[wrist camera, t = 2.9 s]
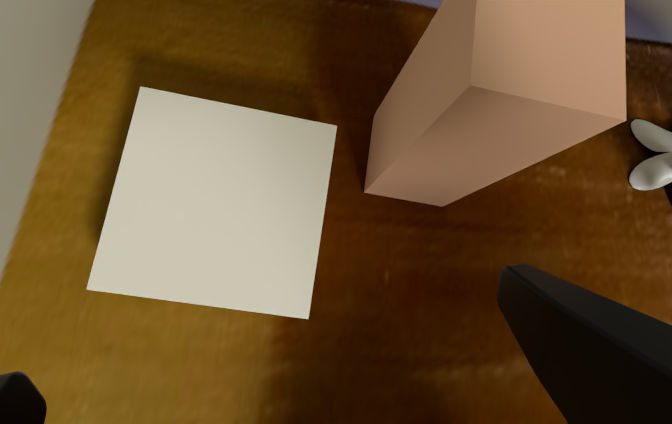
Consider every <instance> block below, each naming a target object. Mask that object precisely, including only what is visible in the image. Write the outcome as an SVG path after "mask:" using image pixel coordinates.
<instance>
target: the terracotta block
mask: <svg viewBox="0 0 672 424" xmlns="http://www.w3.org/2000/svg"><path fill="white" fill-rule="evenodd" d="M624 121H626V58H625V0H444V1H443V3H442V4H441V6H440V8H439V9H438V11H437V13H436V14H435V16H434V18H433V19H432V21H431V22H430V24H429V26H428V27H427V29H426V31H425V32H424V34H423V36H422V37H421V39H420V41H419V42H418V44H417V45H416V47H415V49H414V50H413V52H412V54H411V55H410V57H409V59H408V60H407V62H406V64H405V65H404V67H403V69H402V70H401V72H400V73H399V75H398V77H397V78H396V80H395V82H394V83H393V85H392V87H391V88H390V90H389V92H388V93H387V95H386V97H385V98H384V100H383V101H382V103H381V105H380V106H379V108H378V110H377V111H376V113H375V115H374V118H373V126H372V133H371V141H370V149H369V157H368V164H367V172H366V180H365V188H364V193H369V194H375V195H380V196H386V197H391V198H397V199H402V200H408V201H414V202H419V203H425V204H430V205H436V206H441V207H443V206H445V205H447V204H449V203H451V202H454V201H456V200H458V199H460V198H462V197H464V196H466V195H469V194H471V193H473V192H475V191H477V190H479V189H481V188H483V187H486V186H488V185H490V184H492V183H494V182H496V181H498V180H501V179H503V178H505V177H507V176H509V175H511V174H513V173H515V172H518V171H520V170H522V169H524V168H526V167H528V166H530V165H533V164H535V163H537V162H539V161H541V160H543V159H545V158H547V157H550V156H552V155H554V154H556V153H558V152H560V151H562V150H565V149H567V148H569V147H571V146H573V145H575V144H577V143H579V142H582V141H584V140H586V139H588V138H590V137H592V136H594V135H597V134H599V133H601V132H603V131H605V130H607V129H609V128H611V127H614V126H616V125H618V124H620V123H622V122H624Z"/></svg>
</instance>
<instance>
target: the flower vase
mask: <svg viewBox="0 0 672 424" xmlns="http://www.w3.org/2000/svg"><path fill="white" fill-rule="evenodd" d="M631 129H632V131H633V134H634V135H635V137H636V138H637V139H638V140H639V141H640V142H641V143H642V144H643V145H644V146H646V147H647V148H649V149H651V150H653V151H656V152H668V153H664V154H661V155H657V156H654V157H652V158H649V159H647V160H645V161H643V162H642V163H640V164H639V165H638V166H636V167H635V168H634V170H633V171H632V172H631V174H630V177H629V182H630V184H631V186H632V187H633V188H635V189H637V190H652V189H656V188H659V187H661V186H664V185H666V184H668V183H671V182H672V132H669V131H667V130H665V129H662V128H660V127H658V126H656V125H654V124H652V123H650V122H648V121H645V120H641V119H636V120H634V121H633V122H632V123H631Z"/></svg>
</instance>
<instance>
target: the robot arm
mask: <svg viewBox="0 0 672 424" xmlns="http://www.w3.org/2000/svg"><path fill="white" fill-rule="evenodd" d="M497 302H498V305H499V308H500V310H501V312H502V314H503V315H504V317H505V319H506V321H507V323H508V325H509V327H510V328H511V330H512V332H513V334H514V336H515V338H516V340H517V341H518V343H519V345H520V347H521V349H522V351H523V352H524V354H525V356H526V358H527V360H528V362H529V364H530V365H531V367H532V369H533V370H534V372H535V374H536V376H537V377H538V379H539V380H540V382H541V383H542V385H543V386H544V388H545V389H546V391H547V392H548V394H549V395H550V397H551V398H552V400H553V401H554V403H555V404H556V406H557V407H558V408H559V410H560V411H561V413H562V414H563V416H564V417H565V419H566V420H567V422H568V423H569V424H672V325H670V324H667V323H665V322H662V321H660V320H658V319H655V318H653V317H651V316H648V315H646V314H644V313H641V312H639V311H637V310H634V309H632V308H629V307H627V306H625V305H622V304H620V303H618V302H615V301H613V300H611V299H608V298H606V297H603V296H601V295H599V294H596V293H594V292H592V291H589V290H587V289H585V288H582V287H580V286H578V285H575V284H573V283H570V282H568V281H566V280H563V279H561V278H559V277H556V276H554V275H552V274H549V273H547V272H545V271H542V270H540V269H537V268H535V267H533V266H530V265H528V264H525V263H516V264H512V265H507V266H505V267H503V268H502V270H501V274H500V280H499V286H498V292H497ZM46 409H47V407H46V402H45V399H44V398H43V396H42V395H41V393H40V392H39V391H38V389H37V388H36V387H35V385H34V384H33V383H32V381H31V380H30V378H29V377H28V376H27V375H26V374H25V373H23V372H12V373H8V374H3V375H0V424H44V422H45V417H46Z"/></svg>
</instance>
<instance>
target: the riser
mask: <svg viewBox="0 0 672 424" xmlns="http://www.w3.org/2000/svg"><path fill="white" fill-rule="evenodd" d="M336 130H337V126H336V125H331V124H326V123H321V122H316V121H311V120H306V119H301V118H296V117H291V116H286V115H281V114H276V113H271V112H266V111H261V110H256V109H251V108H246V107H241V106H236V105H231V104H226V103H221V102H216V101H211V100H206V99H201V98H196V97H191V96H186V95H181V94H176V93H171V92H166V91H162V90H157V89H152V88H147V87H142V86H140V90H139V94H138V98H137V101H136V105H135V109H134V113H133V116H132V120H131V124H130V128H129V131H128V135H127V139H126V143H125V146H124V150H123V154H122V158H121V161H120V165H119V169H118V173H117V176H116V180H115V184H114V188H113V191H112V195H111V199H110V203H109V206H108V210H107V214H106V218H105V221H104V225H103V229H102V233H101V236H100V240H99V244H98V248H97V252H96V255H95V259H94V263H93V267H92V270H91V274H90V278H89V282H88V285H87V290H94V291H102V292H109V293H117V294H124V295H132V296H139V297H146V298H154V299H161V300H169V301H176V302H184V303H191V304H199V305H206V306H214V307H221V308H228V309H236V310H243V311H251V312H258V313H266V314H273V315H281V316H288V317H296V318H303V319H308V318H309V312H310V305H311V298H312V291H313V285H314V278H315V271H316V265H317V258H318V251H319V244H320V238H321V231H322V224H323V218H324V211H325V204H326V197H327V191H328V184H329V177H330V171H331V164H332V157H333V151H334V144H335V137H336Z"/></svg>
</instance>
